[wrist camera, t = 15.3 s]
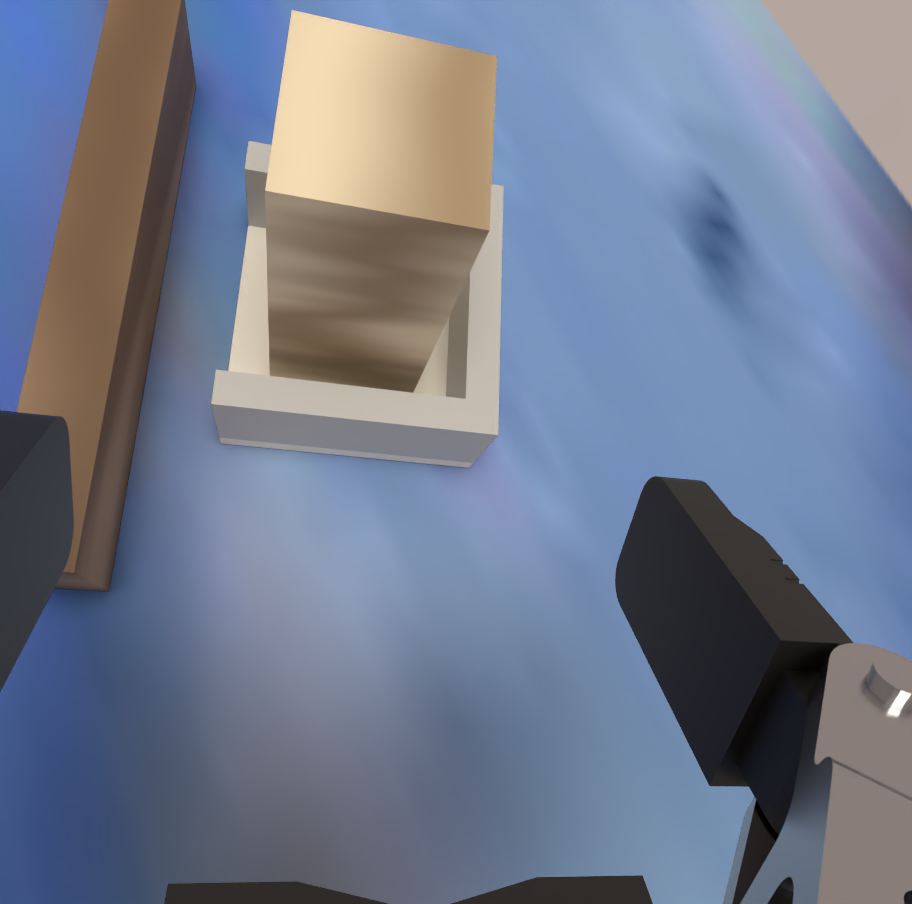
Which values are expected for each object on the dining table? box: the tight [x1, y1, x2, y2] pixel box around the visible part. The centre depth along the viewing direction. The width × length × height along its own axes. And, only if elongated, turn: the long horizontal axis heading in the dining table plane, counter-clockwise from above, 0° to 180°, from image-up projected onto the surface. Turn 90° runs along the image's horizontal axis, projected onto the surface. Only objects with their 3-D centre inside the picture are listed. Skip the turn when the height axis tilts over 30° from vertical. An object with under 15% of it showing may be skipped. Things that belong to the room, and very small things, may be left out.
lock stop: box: [265, 10, 497, 393], centre depth 20 cm, size 4×4×10 cm
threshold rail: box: [17, 0, 196, 591], centre depth 22 cm, size 2×18×4 cm, turn 178°
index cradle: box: [211, 141, 503, 468], centre depth 24 cm, size 8×8×4 cm
